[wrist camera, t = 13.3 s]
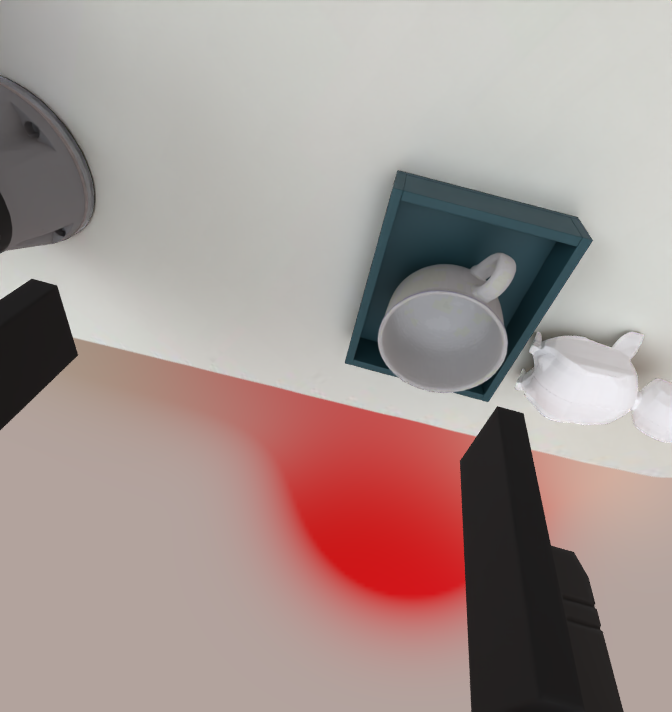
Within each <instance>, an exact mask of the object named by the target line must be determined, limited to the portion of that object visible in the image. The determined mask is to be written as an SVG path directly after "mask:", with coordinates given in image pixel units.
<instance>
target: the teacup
mask: <svg viewBox="0 0 672 712" xmlns="http://www.w3.org/2000/svg"><path fill="white" fill-rule="evenodd" d="M515 272H516V263H515V261H514V260H513V259H512V258H511V257H510V256H508V255H506V254H504V253H495V254H493V255H490V256H489V257H487V258H486V259H484V260H483V261H482V262H480V263H479V264H478V265H474V266H473V267H472V268H471V269H468V268H465V267H462V266H458V265H453V264H437V265H432V266H428V267H425V268H422V269H420V270H418V271H416V272H414V273H412V274H411V275H409V276H408V277H407V278H406V279H404V280H403V281H402V282H401V284H400V285H399V286H398V287H397V288H396V290H395V292H394V293H393V295H392V297H391V299H390V302H389V304H388V307H387V310H386V313H385V316H384V318H383V320H382V322H381V325H380V328H379V332H378V347H379V351H380V354H381V357H382V359H383V360H384V362H385V363H386V365H387V366H388V368H389V369H390V370H391V371H392V372H393V373H394V374H395V375H396V376H397V377H399V378H400V379H401V380H402V381H404V382H406V383H408V384H410V385H412V386H414V387H417V388H419V389H423V390H427V391H431V392H440V393H448V392H458V391H464V390H467V389H471V388H473V387H476V386H478V385H480V384H482V383H483V382H485V381H487V380H488V379H489V378H491V377H492V376H493V375H494V374H495V373H496V371H497V370H498V369H499V367H500V366H501V365H502V363H503V362H504V359H505V357H506V354H507V345H508V340H507V333H506V330H505V327H504V321H503V314H502V309H501V305H500V302H499V299H498V296H500V295H501V294H502V293H503V292H504V291H505V290H506V288H507V287H508V286H509V284H510V283H511V281H512V280H513V277H514V275H515ZM490 276H491V277H490ZM489 277H490V278H489ZM487 278H489V279H488V280H487V281H486V279H487Z"/></svg>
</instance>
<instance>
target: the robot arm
mask: <svg viewBox="0 0 672 712" xmlns="http://www.w3.org/2000/svg"><path fill="white" fill-rule="evenodd" d="M93 209H94V187H93V182H92V178H91V174H90V171H89V168H88V165H87V163H86V160H85V158H84V156H83V154H82V152H81V150H80V148H79V147H78V145H77V143H76V141H75V140H74V138H73V137H72V135H71V134H70V132H69V131H68V130H67V128H66V127H65V126H64V125H63V123H62V122H61V121H60V120H59V119H58V117H57V116H56V115H55V114H54V113H53V112H52V111H51V110H50V109H49V108H48V107H47V106H46V105H45V104H44V103H43V102H42V101H40V100H39V99H38V98H37V97H35V96H34V95H33V94H32V93H30V92H29V91H27V90H26V89H24V88H23V87H21V86H20V85H18V84H16V83H14V82H13V81H11V80H9V79H6V78H4V77H2V76H0V253H2V252H4V251H6V250H13V249H20V248H27V247H34V246H40V245H47V244H53V243H57V242H60V241H63V240H66V239H68V238H70V237H71V236H73V235H75V234H76V233H78V232H79V231H81V230H82V229H83V228H84V227H85V226H86V225H87V223H88V222H89V220H90V218H91V216H92V213H93ZM77 356H78V354H77V350H76V347H75V344H74V340H73V337H72V334H71V330H70V327H69V324H68V320H67V317H66V314H65V310H64V307H63V304H62V300H61V297H60V294H59V290H58V287H57V285H53V284H49V283H46V282H42V281H38V280H35V279H31V280H29V281H28V282H26V283H25V284H23V285H22V286H20V287H19V288H17V289H16V290H14V291H13V292H11V293H10V294H8V295H7V296H5V297H4V298H2V299H1V300H0V430H1V429H2V428H3V427H4V426H5V425H6V424H7V423H8V422H9V421H10V420H11V419H12V418H13V417H14V416H15V415H16V414H18V413H19V412H20V411H21V410H22V409H23V408H24V407H25V406H26V405H27V404H28V403H29V402H30V401H31V400H32V399H33V398H34V397H35V396H36V395H37V394H38V393H39V392H40V391H41V390H42V389H44V388H45V386H47V385H48V383H50V382H51V381H52V380H53V379H54V378H55V377H56V376H57V375H58V374H59V373H60V372H61V371H62V370H63V369H64V368H65V367H66V366H67V365H68V364H69V363H70V362H71V361H72V360H74V359H75V358H76V357H77ZM460 471H461V491H462V513H463V514H462V515H463V536H464V559H465V580H466V602H467V624H468V646H469V668H470V690H471V709H472V710H471V712H623V708H622V704H621V701H620V697H619V693H618V689H617V685H616V682H615V678H614V674H613V670H612V666H611V662H610V658H609V655H608V651H607V647H606V643H605V639H604V636H603V632H602V631H601V630H600V626H601V624H600V620H599V616H598V612H597V609H595V607H594V604H595V601H594V597H593V593H592V589H591V586H590V582H589V578H588V576H587V574H586V572H585V571H584V569H583V567H582V565H581V564H580V562H579V560H578V559H577V557H576V555H575V553H574V552H572V551H568V550H564V549H561V548H557V547H554V546H551V544H550V540H549V534H548V530H547V525H546V520H545V515H544V510H543V505H542V501H541V496H540V491H539V486H538V482H537V476H536V472H535V467H534V462H533V458H532V452H531V447H530V443H529V438H528V433H527V428H526V423H525V418H524V414H523V413H520V412H516V411H513V410H509V409H505V408H502V407H498V406H497V407H496V409H495V410H494V412H493V413H492V415H491V416H490V418H489V419H488V421H487V422H486V424H485V425H484V427H483V428H482V429H481V431H480V432H479V434H478V435H477V437H476V438H475V440H474V442H473V443H472V444H471V446H470V447H469V449H468V450H467V452H466V453H465V454H464V456H463V458H462V459H461V460H460Z"/></svg>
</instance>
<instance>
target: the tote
mask: <svg viewBox="0 0 672 712" xmlns="http://www.w3.org/2000/svg"><path fill="white" fill-rule="evenodd" d="M592 241H593V240H592V238H591V237H590V235H589V234H588V232H587V231H586V229H585V228H584V226H583V225H582V223H581V221H580V220H579V219H578V217H575V216H571V215H567V214H563V213H559V212H555V211H552V210H548V209H544V208H540V207H536V206H533V205H529V204H525V203H521V202H517V201H513V200H510V199H506V198H502V197H498V196H494V195H490V194H487V193H483V192H479V191H475V190H471V189H468V188H464V187H460V186H456V185H452V184H448V183H445V182H441V181H437V180H433V179H429V178H426V177H422V176H418V175H414V174H410V173H406V172H403V171H399V170H398V171H397V174H396V178H395V181H394V185H393V189H392V192H391V196H390V199H389V203H388V207H387V210H386V214H385V218H384V221H383V225H382V228H381V232H380V236H379V239H378V243H377V247H376V250H375V254H374V258H373V261H372V265H371V268H370V272H369V276H368V279H367V283H366V287H365V290H364V294H363V298H362V301H361V305H360V308H359V312H358V316H357V319H356V323H355V327H354V330H353V334H352V337H351V341H350V345H349V349H348V352H347V356H346V360H345V363H346V364H350V365H354V366H358V367H361V368H365V369H369V370H372V371H376V372H380V373H383V374H387V375H391V376H394V377H397V376H396V375H395V374H394V373H393V372H392V371H391V370H390V369H389V368H388V366H387V365H386V363H385V362H384V360H383V359H382V357H381V354H380V351H379V347H378V332H379V328H380V325H381V322H382V320H383V318H384V316H385V313H386V310H387V307H388V304H389V302H390V299H391V297H392V295H393V293H394V292H395V290H396V288H397V287H398V286H399V285H400V284H401V282H402V281H403V280H404V279H406V278H407V277H408V276H409V275H411V274H412V273H414V272H416V271H418V270H420V269H422V268H425V267H428V266H432V265H437V264H453V265H458V266H462V267H465V268H468V269H471V268H472V267H473V266H474V265H478V264H479V263H480V262H482V261H483V260H484V259H486V258H487V257H489V256H490V255H493V254H495V253H504V254H506V255H508V256H510V257H511V258H512V259H513V260H514V261H515V263H516V272H515V275H514V277H513V280H512V281H511V283H510V284H509V286H508V287H507V288H506V290H505V291H504V292H503V293H502V294H501V295H500V296H498V299H499V302H500V305H501V309H502V314H503V321H504V327H505V330H506V333H507V340H508V345H507V354H506V357H505V359H504V362H503V363H502V365H501V366H500V367H499V369H498V370H497V371H496V373H495V374H494V375H493V376H492V377H491V378H489V379H488V380H487V381H485V382H483V383H482V384H480V385H478V386H476V387H473V388H471V389H467V390H464V391H458V392H453V393H457V394H460V395H464V396H468V397H471V398H475V399H479V400H482V401H486V402H489V400H490V399H491V397H492V396H493V394H494V392H495V391H496V389H497V388H498V386H499V385H500V383H501V382H502V380H503V379H504V377H505V375H506V374H507V372H508V371H509V369H510V368H511V366H512V365H513V363H514V362H515V360H516V358H517V357H518V355H519V354H520V352H521V351H522V349H523V348H524V346H525V345H526V343H527V341H528V340H529V338H530V337H531V335H532V334H533V332H534V331H535V329H536V328H537V326H538V324H539V323H540V321H541V320H542V318H543V317H544V315H545V314H546V312H547V311H548V309H549V307H550V306H551V304H552V303H553V301H554V300H555V298H556V297H557V295H558V294H559V292H560V290H561V289H562V287H563V286H564V284H565V283H566V281H567V280H568V278H569V277H570V275H571V273H572V272H573V270H574V269H575V267H576V266H577V264H578V263H579V261H580V259H581V258H582V256H583V255H584V253H585V252H586V250H587V249H588V247H589V246H590V244H591V242H592ZM490 277H491V276H490ZM490 277H489V278H490ZM489 278H487V279H486V281H487V280H488V279H489ZM398 378H399V377H398Z"/></svg>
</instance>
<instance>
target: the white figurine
mask: <svg viewBox="0 0 672 712" xmlns="http://www.w3.org/2000/svg"><path fill="white" fill-rule="evenodd" d="M541 339H542V337H541V333H540V332H537V334H536V336H535V339H534V341H533V344H532V346H531V348H530V350H529V352H530V353H531V354H533V359H534V365H535V367H533V368H532V369H531V370H529V371H528V372H527V373H526V372H525V369H522V372H521V375H520V377H519V379H518V381H517V383H516V386H515V389H516V390H524V391H525V394H524V395H525V396H526V398H527V399H528V400H529V401H530V402H531V403H532V404H533V405H534V407H535V408H536V409H537V410H538V411H539V412H540V414H542V415H543V416H544V417H547V418H548V419H549V420H552V421H556V422H565V423H579V424H581V425H592V424H608V423H611V422H613V421H615V420H617V419H618V418H620V417H622V416H624V415H625V414H626V413H628V412H629V411H630V410H631V411H632V420H633V423H634V425H635V427H636V428H637V429H639V430H640V431H641V432H643V433H644V434H646V435H648V436H650V437H652V438H653V439H656V440H658V441H662V442H671V443H672V383H671V382H668V381H666V380H663V379H660V378H656V379H654V380H653V381H651V382H649V383H648V384H647V385H646V386H645V387H644V388H643V389H642V390H641V391H638V377H637V373H636V370H635V368H634V366H633V364H632V363H631V358H632V357H633V356H634V355H635V354H636V353H637V352H638V350H639V347H640V345H641V343H642V341H643V339H644V335H643V334H640V333H636V332H632V331H631V332H628V333H626V334H625V335H623V336H621V337H620V338H619V339H618V341H617V342H616V343H615V344H614V345H613V346H612V347H608V346H606V345H603V344H600V343H596V342H595V341H593V340H589V339H587V338H586V337H581V336H578V337H577V336H570V335H569V336H559V337H555V338H551V339H547V340H545V341H542V340H541Z"/></svg>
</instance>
